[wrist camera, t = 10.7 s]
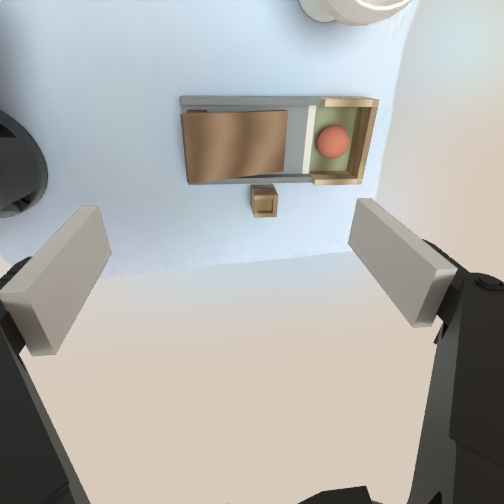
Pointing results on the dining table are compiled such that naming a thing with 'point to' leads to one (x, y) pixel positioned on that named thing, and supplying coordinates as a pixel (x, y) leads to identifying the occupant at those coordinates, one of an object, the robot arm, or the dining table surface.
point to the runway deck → (297, 132)
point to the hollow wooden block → (264, 200)
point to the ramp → (233, 144)
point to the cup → (352, 10)
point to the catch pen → (360, 132)
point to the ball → (333, 141)
